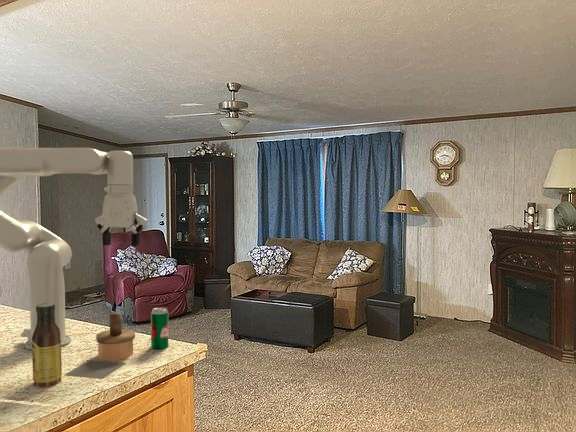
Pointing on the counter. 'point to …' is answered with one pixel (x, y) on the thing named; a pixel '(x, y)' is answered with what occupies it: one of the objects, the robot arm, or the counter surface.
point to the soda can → (159, 328)
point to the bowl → (115, 350)
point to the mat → (95, 369)
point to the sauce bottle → (46, 348)
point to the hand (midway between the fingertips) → (120, 245)
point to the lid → (115, 331)
